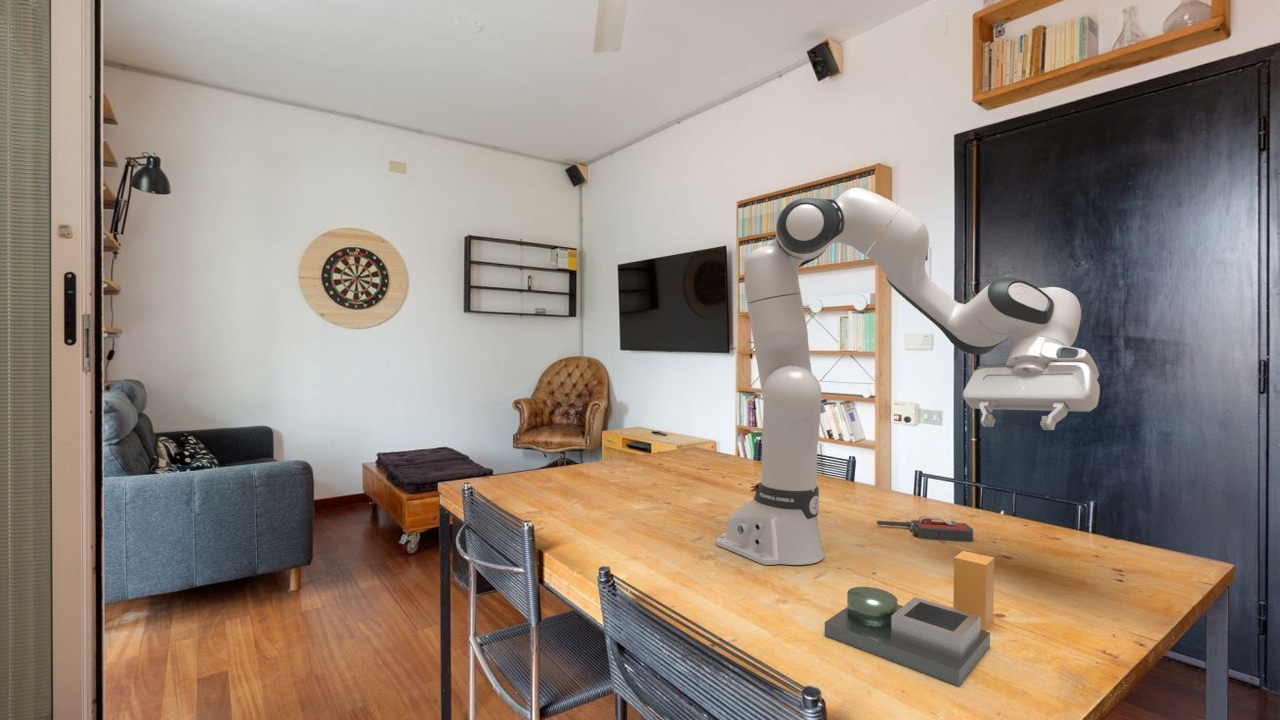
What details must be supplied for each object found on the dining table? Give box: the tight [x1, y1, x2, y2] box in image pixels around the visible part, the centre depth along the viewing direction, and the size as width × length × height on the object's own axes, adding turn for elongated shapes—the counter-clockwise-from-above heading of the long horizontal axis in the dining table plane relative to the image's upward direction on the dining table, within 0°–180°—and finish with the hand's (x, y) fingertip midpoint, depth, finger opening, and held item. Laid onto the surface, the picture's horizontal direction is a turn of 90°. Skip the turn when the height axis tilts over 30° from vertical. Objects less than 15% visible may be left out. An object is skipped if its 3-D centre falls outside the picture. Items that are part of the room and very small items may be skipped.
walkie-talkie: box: [876, 515, 974, 543], centre depth 133 cm, size 9×4×20 cm
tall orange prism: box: [952, 550, 995, 632], centre depth 90 cm, size 4×4×10 cm
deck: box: [824, 586, 991, 687], centre depth 83 cm, size 18×14×5 cm
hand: (1015, 426), depth 99 cm, fingers open, 8 cm apart
